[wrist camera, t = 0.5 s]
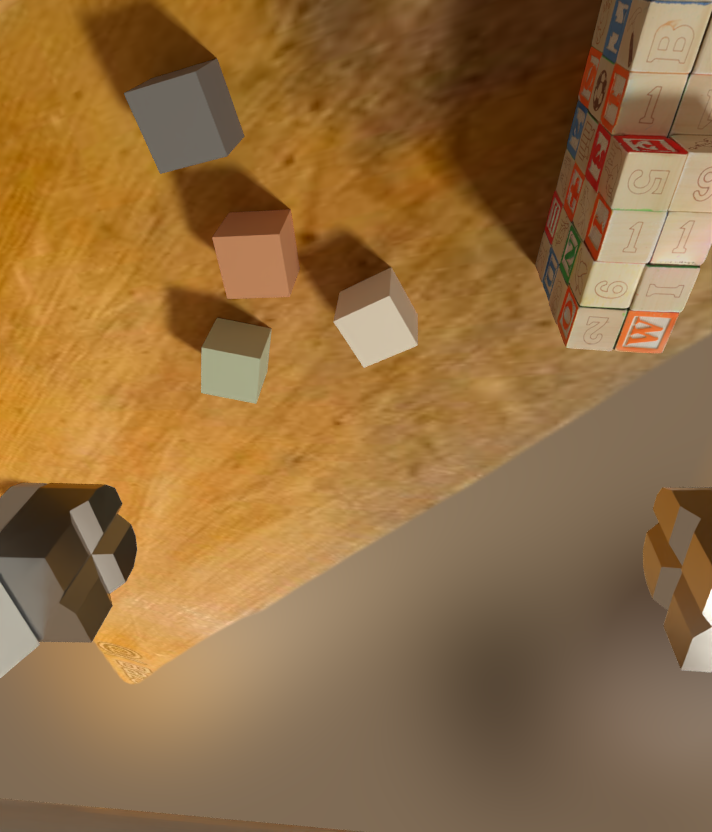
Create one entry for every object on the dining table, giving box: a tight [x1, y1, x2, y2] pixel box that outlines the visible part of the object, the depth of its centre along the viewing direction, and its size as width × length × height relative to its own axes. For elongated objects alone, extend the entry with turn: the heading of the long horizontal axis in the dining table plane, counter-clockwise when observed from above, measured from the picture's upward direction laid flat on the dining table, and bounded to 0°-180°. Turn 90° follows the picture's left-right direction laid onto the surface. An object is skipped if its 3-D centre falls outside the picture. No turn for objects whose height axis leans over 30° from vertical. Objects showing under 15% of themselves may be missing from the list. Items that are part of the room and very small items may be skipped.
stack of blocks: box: [536, 0, 712, 353], centre depth 34 cm, size 21×6×12 cm, turn 179°
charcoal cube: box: [124, 59, 244, 174], centre depth 39 cm, size 5×5×5 cm
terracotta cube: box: [212, 209, 300, 299], centre depth 45 cm, size 5×5×5 cm
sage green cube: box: [201, 318, 271, 403], centre depth 51 cm, size 5×5×5 cm
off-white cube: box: [333, 267, 418, 367], centre depth 47 cm, size 5×5×5 cm
